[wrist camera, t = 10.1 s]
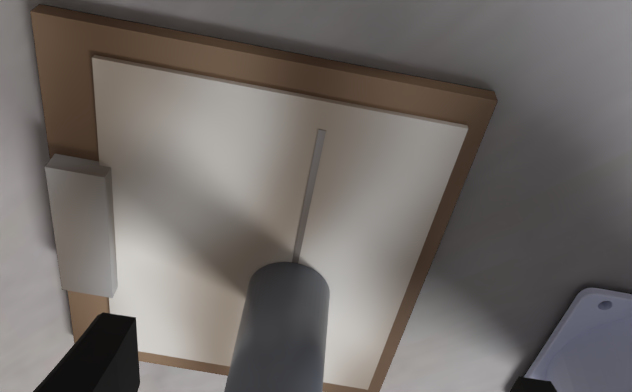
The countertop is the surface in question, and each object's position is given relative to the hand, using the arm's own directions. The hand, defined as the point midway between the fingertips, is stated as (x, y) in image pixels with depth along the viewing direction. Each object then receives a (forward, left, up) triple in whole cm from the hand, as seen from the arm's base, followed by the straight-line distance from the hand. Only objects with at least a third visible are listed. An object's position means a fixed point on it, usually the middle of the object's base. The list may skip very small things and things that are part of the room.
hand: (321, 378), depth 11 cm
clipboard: (+3, +6, -10) cm, 12 cm away
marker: (+1, +8, -9) cm, 12 cm away
